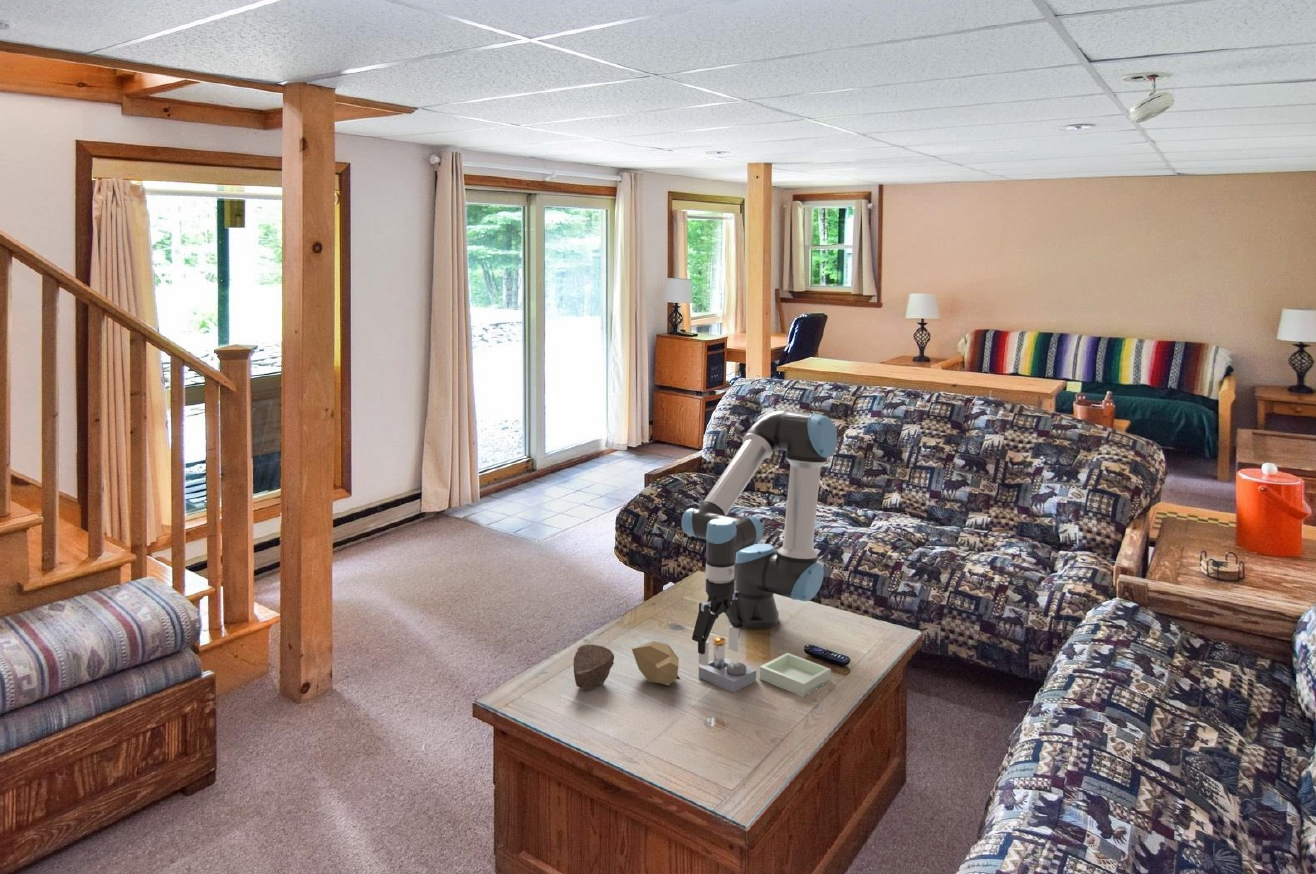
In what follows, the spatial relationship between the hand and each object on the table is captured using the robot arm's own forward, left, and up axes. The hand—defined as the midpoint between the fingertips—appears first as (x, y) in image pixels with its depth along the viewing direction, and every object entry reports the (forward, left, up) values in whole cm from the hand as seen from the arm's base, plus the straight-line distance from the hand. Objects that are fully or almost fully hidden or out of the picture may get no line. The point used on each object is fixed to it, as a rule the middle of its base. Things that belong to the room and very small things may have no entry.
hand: (718, 657), depth 247 cm
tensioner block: (+3, 0, -5) cm, 6 cm away
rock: (-19, -28, -5) cm, 34 cm away
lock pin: (0, 0, -5) cm, 5 cm away
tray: (+16, +12, -5) cm, 21 cm away
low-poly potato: (-8, -14, -5) cm, 17 cm away
